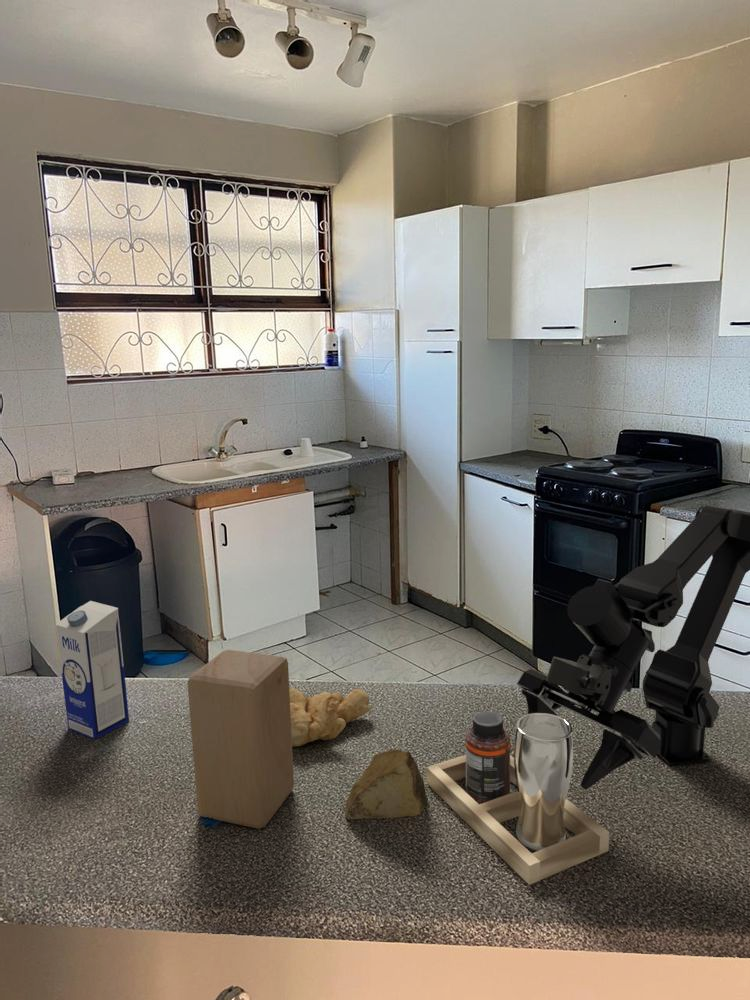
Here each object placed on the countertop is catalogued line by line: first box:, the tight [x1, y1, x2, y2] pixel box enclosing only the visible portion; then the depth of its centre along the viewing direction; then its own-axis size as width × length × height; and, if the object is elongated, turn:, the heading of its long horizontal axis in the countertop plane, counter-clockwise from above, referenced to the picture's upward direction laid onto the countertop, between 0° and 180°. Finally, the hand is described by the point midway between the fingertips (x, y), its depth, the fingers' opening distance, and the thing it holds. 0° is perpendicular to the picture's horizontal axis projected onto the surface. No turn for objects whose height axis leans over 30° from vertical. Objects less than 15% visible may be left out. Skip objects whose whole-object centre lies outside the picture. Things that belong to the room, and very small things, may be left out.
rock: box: [344, 748, 428, 820], centre depth 98 cm, size 11×9×10 cm
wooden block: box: [187, 649, 295, 829], centre depth 98 cm, size 10×10×20 cm
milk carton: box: [55, 600, 130, 741], centre depth 120 cm, size 7×7×20 cm
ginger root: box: [289, 685, 372, 748], centre depth 118 cm, size 16×16×8 cm
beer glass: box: [513, 713, 574, 852], centre depth 91 cm, size 7×7×15 cm
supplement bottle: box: [465, 710, 511, 804], centre depth 100 cm, size 6×6×11 cm
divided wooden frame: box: [426, 754, 610, 886], centre depth 97 cm, size 22×12×2 cm, turn 27°
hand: (552, 770), depth 92 cm, fingers open, 9 cm apart
